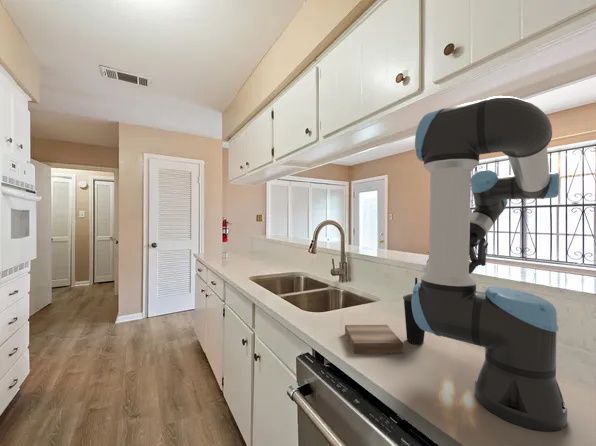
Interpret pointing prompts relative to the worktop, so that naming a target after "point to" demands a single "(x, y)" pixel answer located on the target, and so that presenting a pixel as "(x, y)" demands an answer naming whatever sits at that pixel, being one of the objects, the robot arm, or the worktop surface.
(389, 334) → the walnut riser
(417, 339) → the drinking cup
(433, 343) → the worktop surface
